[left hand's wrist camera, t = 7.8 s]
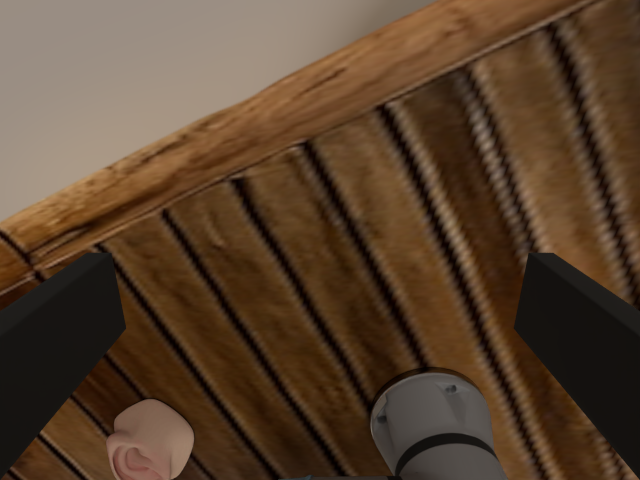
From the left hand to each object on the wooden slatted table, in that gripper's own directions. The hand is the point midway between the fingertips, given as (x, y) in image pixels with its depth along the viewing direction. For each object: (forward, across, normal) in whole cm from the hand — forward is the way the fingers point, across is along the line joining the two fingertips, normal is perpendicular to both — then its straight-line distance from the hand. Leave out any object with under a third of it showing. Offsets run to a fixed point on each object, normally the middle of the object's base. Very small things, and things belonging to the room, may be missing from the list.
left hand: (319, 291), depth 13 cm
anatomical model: (+30, -23, -38) cm, 53 cm away
